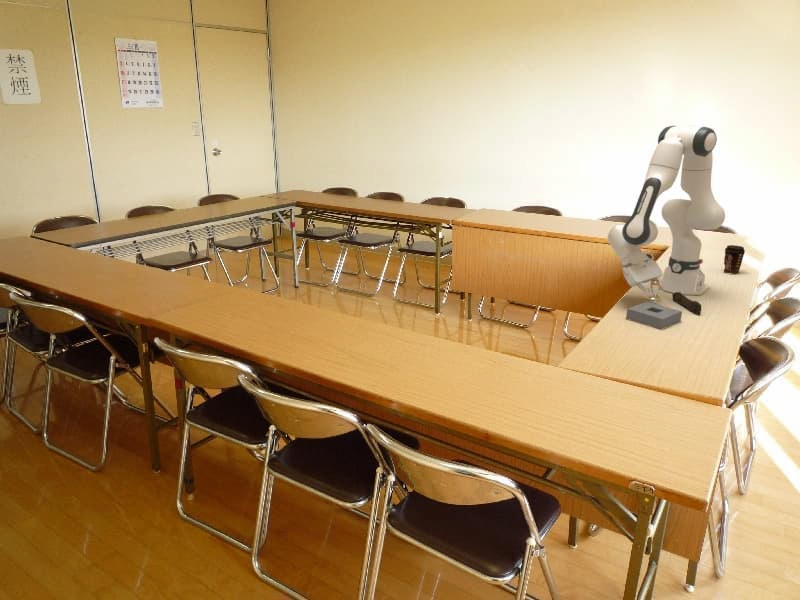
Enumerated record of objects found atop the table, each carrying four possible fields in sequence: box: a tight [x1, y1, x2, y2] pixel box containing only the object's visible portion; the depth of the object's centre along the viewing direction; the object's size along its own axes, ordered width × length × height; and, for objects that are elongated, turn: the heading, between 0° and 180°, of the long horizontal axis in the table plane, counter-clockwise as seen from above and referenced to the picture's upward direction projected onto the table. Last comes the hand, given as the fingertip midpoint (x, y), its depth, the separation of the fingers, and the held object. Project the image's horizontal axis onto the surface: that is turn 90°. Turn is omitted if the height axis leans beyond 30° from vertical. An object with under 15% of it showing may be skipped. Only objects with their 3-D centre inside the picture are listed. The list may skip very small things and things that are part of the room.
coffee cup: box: [723, 244, 745, 275], centre depth 282 cm, size 9×8×13 cm
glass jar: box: [645, 280, 661, 304], centre depth 232 cm, size 6×6×11 cm
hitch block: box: [625, 301, 683, 330], centre depth 219 cm, size 14×14×4 cm
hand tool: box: [672, 292, 702, 316], centre depth 234 cm, size 19×4×5 cm, turn 179°
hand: (654, 290), depth 231 cm, fingers open, 8 cm apart
